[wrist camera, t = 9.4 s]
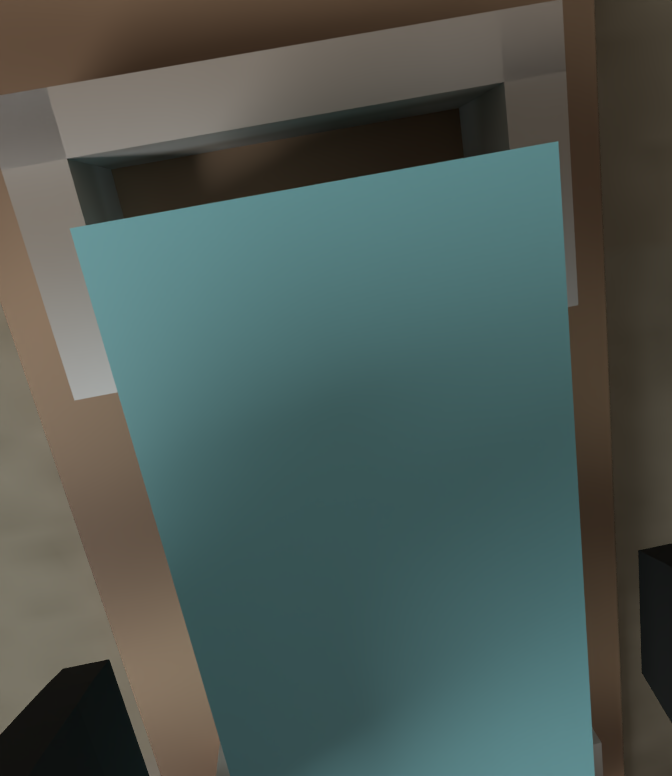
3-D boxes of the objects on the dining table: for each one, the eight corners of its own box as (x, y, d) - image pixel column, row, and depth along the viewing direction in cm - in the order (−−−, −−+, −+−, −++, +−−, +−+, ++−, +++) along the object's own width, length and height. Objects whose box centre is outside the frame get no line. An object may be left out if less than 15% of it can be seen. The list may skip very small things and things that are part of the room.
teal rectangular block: (491, 746, 13) (610, 1050, 8) (312, 785, 13) (330, 1116, 8) (421, 175, 10) (558, 141, 5) (175, 219, 10) (70, 229, 5)
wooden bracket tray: (605, 811, 15) (680, 948, 13) (221, 896, 15) (207, 1056, 12) (557, -109, 10) (676, -245, 7) (-71, -5, 9) (-230, -103, 6)
